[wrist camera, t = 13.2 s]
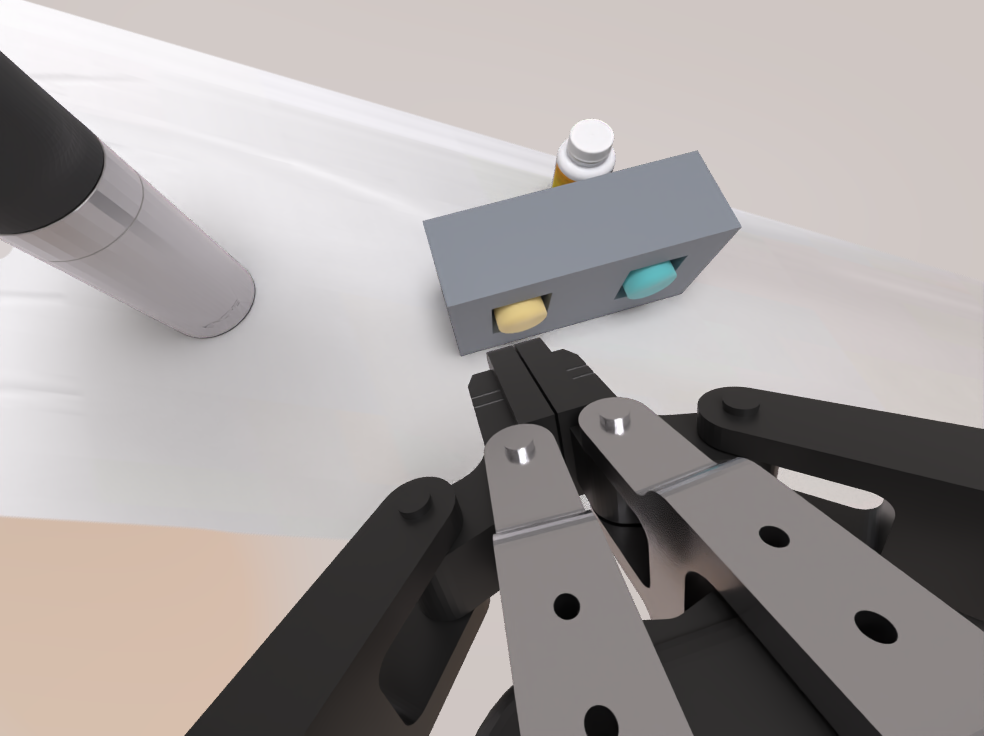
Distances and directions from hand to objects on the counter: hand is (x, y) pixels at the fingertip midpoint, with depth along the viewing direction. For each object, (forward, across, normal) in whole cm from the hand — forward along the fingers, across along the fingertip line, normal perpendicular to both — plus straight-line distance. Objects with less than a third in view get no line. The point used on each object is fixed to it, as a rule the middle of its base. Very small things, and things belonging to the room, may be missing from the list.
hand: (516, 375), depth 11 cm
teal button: (+25, -17, +8) cm, 31 cm away
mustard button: (+25, -5, +8) cm, 27 cm away
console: (+30, -11, +9) cm, 33 cm away
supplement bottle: (+37, -15, +3) cm, 40 cm away
